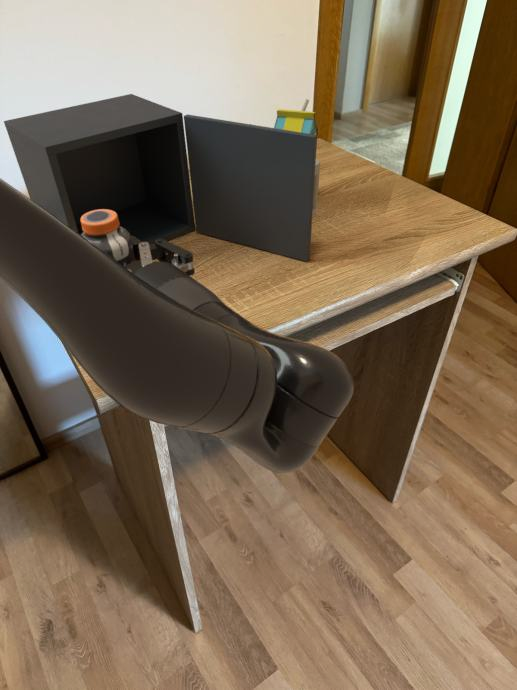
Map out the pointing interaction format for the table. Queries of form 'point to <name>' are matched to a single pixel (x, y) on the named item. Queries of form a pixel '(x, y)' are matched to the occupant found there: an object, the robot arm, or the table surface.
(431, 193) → the table surface
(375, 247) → the table surface
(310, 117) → the carton
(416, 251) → the table surface
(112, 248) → the pill bottle
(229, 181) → the cupboard door
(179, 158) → the cupboard
